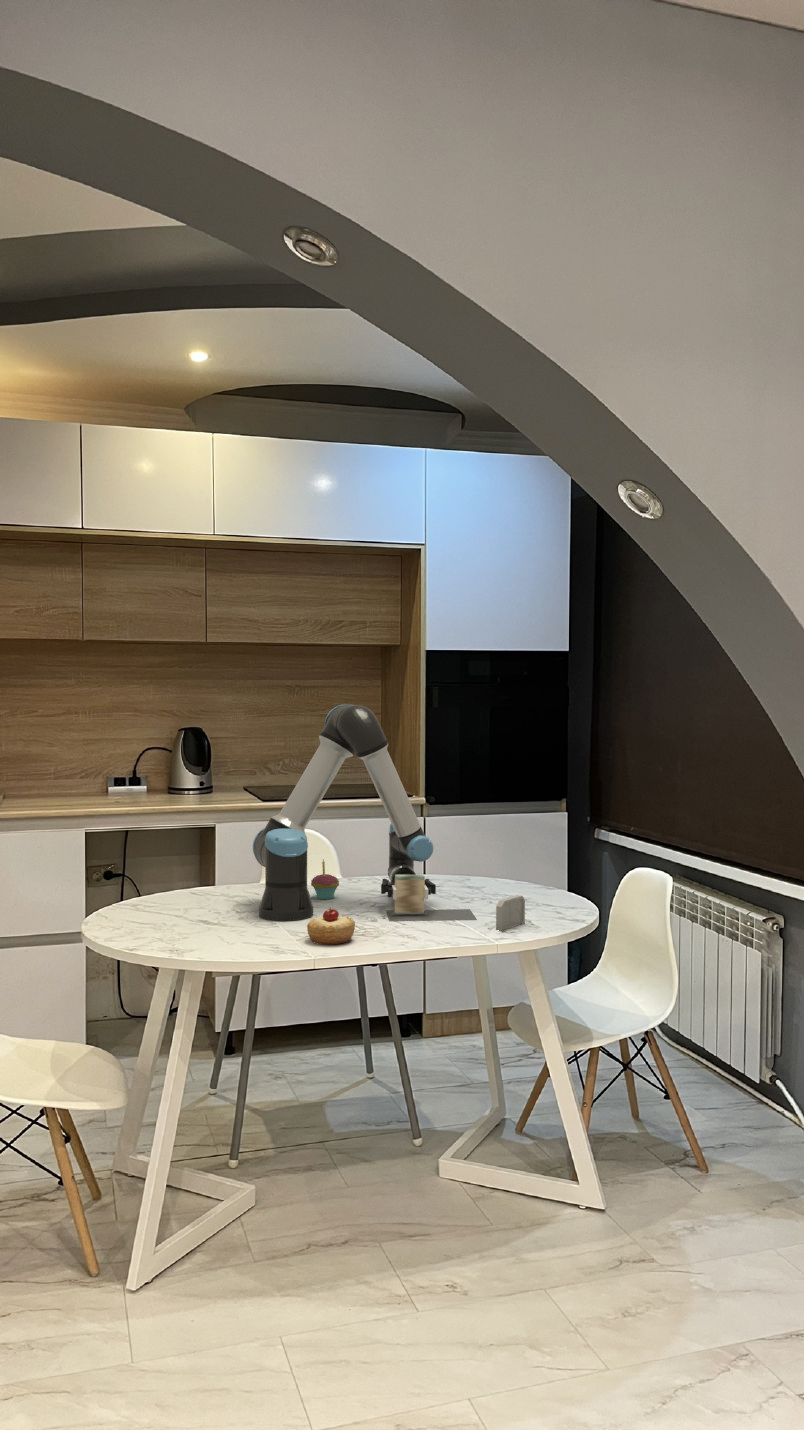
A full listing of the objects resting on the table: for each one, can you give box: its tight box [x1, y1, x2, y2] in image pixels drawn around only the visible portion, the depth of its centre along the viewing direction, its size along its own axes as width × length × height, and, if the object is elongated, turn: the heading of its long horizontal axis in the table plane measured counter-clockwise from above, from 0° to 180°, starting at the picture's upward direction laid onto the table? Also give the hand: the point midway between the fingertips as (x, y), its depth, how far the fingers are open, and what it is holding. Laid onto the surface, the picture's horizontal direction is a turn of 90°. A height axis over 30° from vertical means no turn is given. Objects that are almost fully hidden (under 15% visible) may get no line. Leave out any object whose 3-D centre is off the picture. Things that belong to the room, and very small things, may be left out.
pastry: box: [306, 906, 356, 946], centre depth 265 cm, size 12×12×9 cm
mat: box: [385, 908, 478, 922], centre depth 292 cm, size 24×14×1 cm, turn 95°
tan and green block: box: [393, 874, 426, 913], centre depth 291 cm, size 8×3×10 cm, turn 95°
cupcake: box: [310, 859, 340, 900], centre depth 318 cm, size 9×8×12 cm
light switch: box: [495, 894, 526, 932], centre depth 281 cm, size 2×12×8 cm, turn 143°
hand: (411, 894), depth 287 cm, fingers closed on tan and green block, 8 cm apart
